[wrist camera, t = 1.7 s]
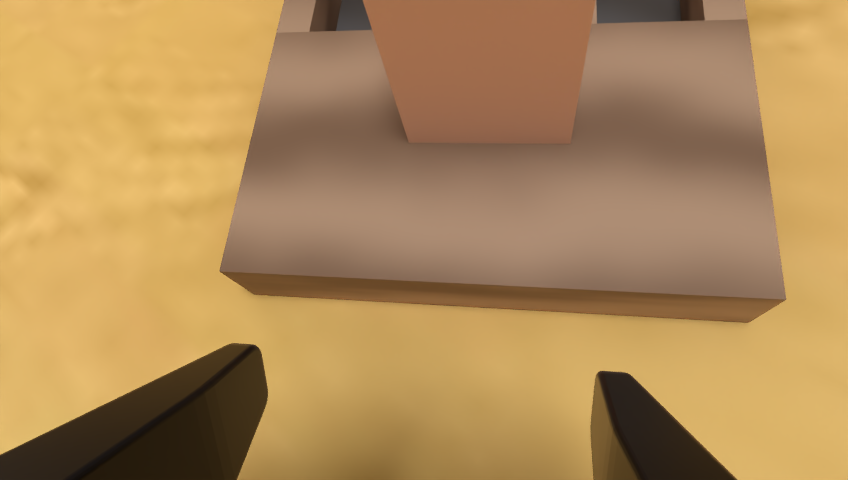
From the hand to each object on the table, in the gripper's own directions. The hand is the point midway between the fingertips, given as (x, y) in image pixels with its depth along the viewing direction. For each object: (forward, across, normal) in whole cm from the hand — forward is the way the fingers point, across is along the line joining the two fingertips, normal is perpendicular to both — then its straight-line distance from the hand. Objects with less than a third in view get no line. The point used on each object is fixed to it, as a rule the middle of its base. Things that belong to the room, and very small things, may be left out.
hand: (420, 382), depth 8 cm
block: (+17, 0, -2) cm, 17 cm away
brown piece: (+21, 0, -2) cm, 21 cm away
